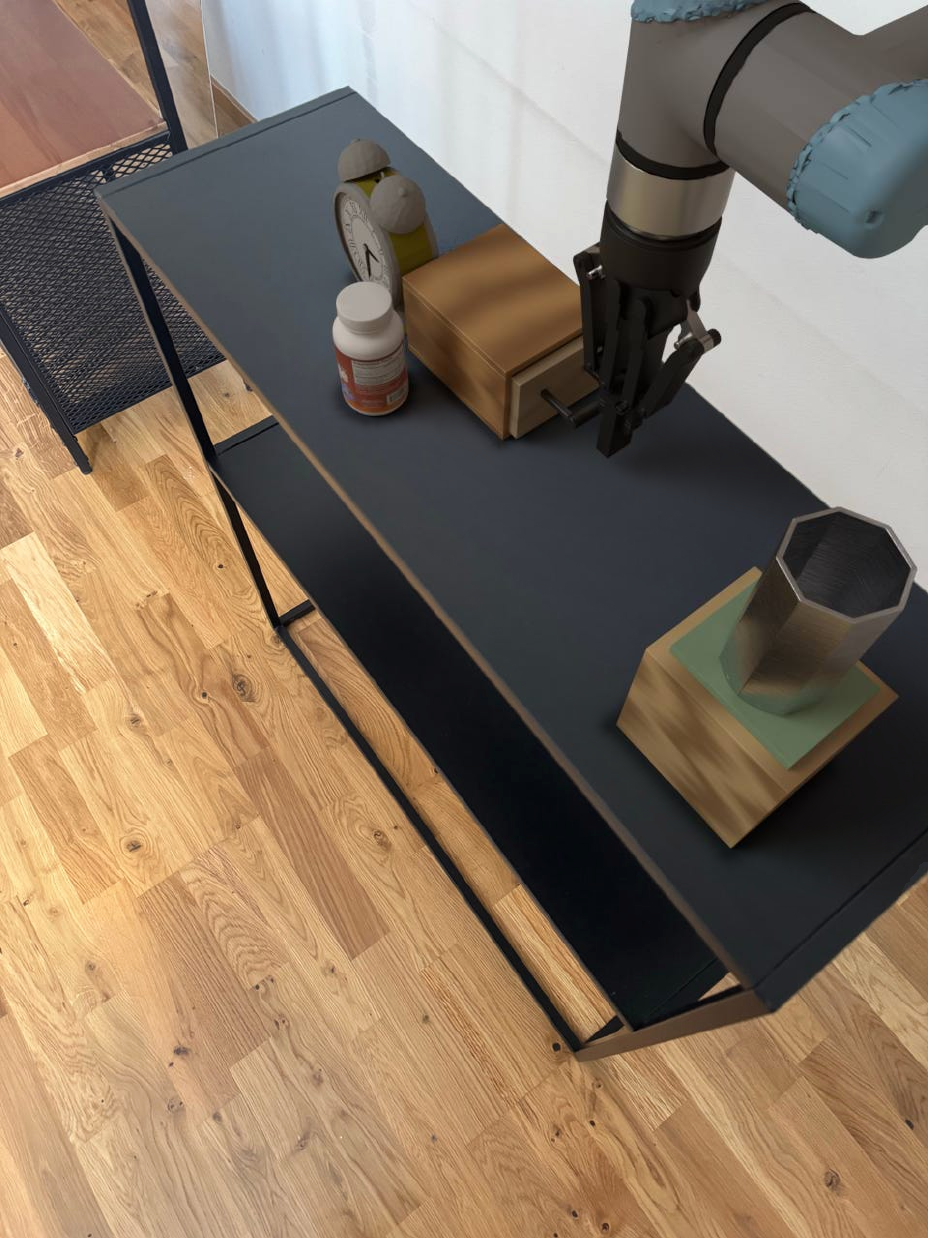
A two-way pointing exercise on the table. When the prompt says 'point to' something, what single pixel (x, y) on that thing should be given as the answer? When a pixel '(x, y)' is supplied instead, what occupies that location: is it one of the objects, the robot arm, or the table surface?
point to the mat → (775, 732)
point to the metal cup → (816, 609)
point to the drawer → (552, 389)
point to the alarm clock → (381, 220)
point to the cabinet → (488, 318)
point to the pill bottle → (370, 349)
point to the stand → (721, 736)
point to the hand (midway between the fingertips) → (613, 445)
